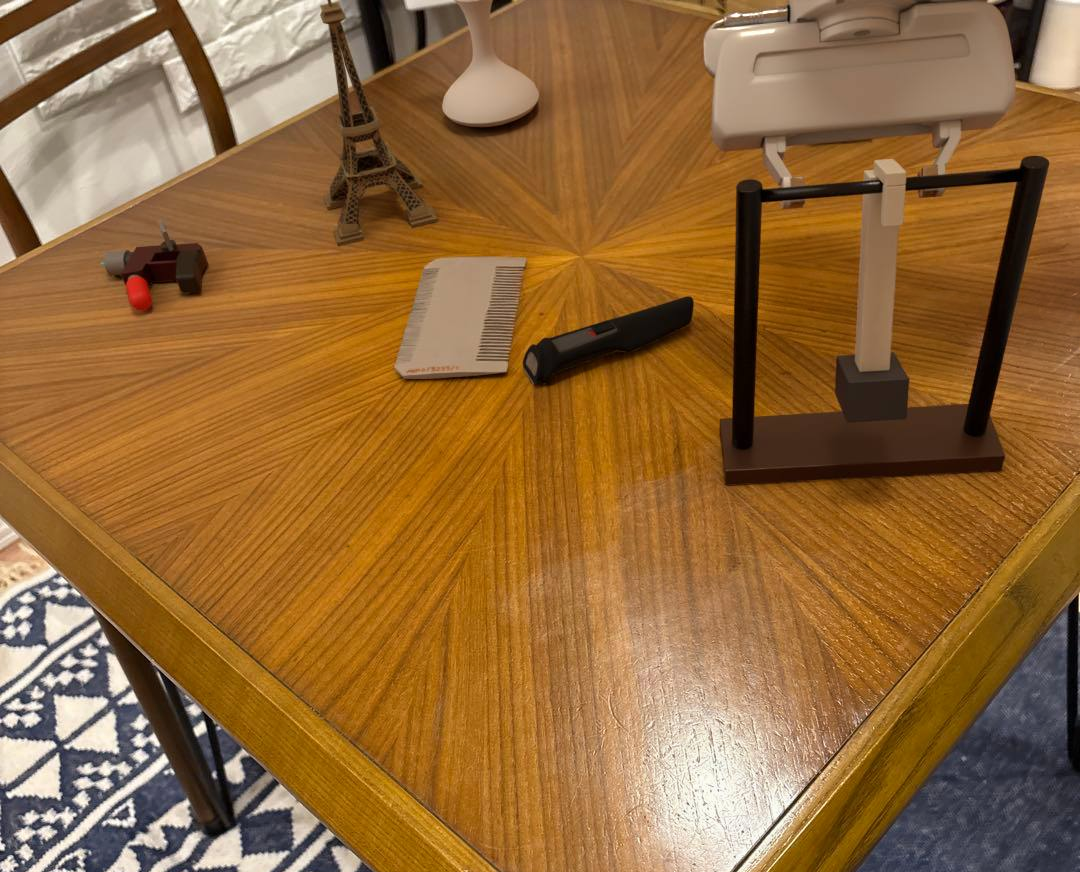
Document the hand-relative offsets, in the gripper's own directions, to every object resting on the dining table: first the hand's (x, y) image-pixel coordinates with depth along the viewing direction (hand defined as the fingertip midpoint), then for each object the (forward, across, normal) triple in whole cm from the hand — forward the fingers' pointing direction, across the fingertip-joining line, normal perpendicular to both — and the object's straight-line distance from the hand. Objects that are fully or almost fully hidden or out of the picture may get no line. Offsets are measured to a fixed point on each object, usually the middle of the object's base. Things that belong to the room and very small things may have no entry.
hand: (862, 201), depth 77 cm
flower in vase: (-27, -33, +51) cm, 66 cm away
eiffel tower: (-13, -43, +37) cm, 58 cm away
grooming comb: (+2, -32, +22) cm, 39 cm away
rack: (+17, 0, +7) cm, 18 cm away
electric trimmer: (+7, -19, +17) cm, 26 cm away
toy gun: (-4, -65, +28) cm, 71 cm away
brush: (+14, 0, 0) cm, 14 cm away
